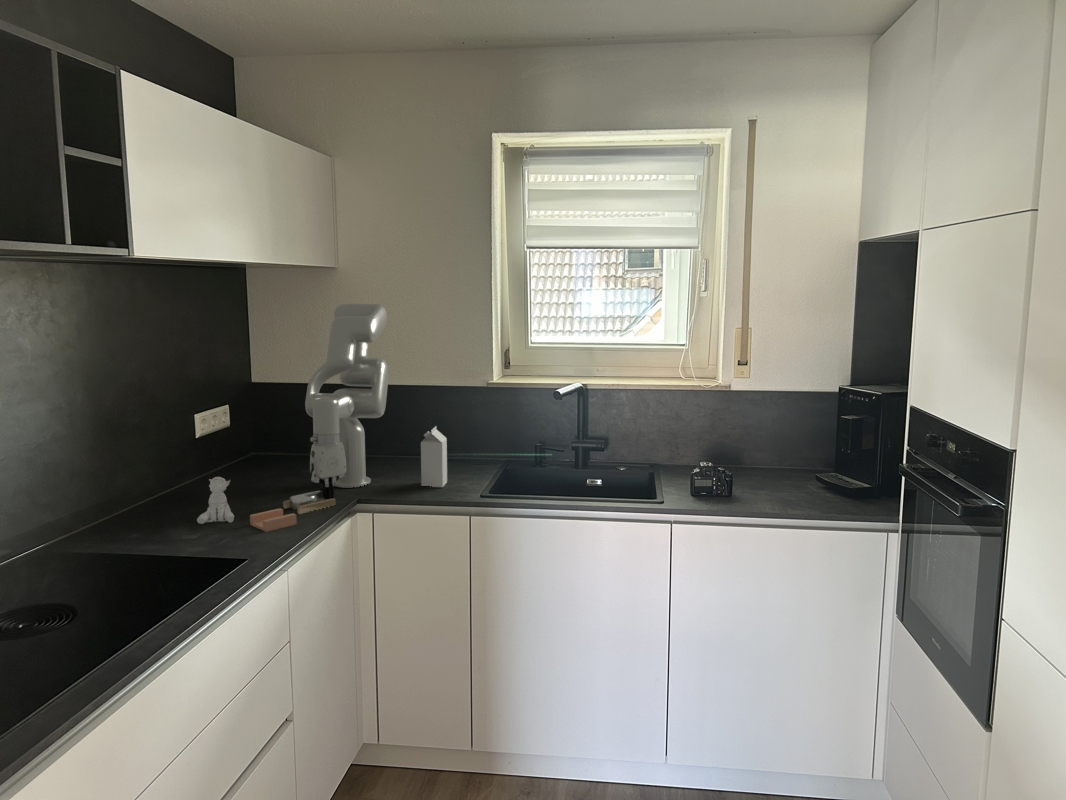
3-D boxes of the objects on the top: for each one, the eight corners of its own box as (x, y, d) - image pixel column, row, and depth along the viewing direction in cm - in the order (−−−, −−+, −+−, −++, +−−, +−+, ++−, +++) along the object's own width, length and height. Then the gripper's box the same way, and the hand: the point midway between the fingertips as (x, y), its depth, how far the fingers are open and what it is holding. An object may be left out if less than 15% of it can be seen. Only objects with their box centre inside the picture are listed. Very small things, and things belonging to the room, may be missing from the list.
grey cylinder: (298, 506, 223) (293, 494, 224) (292, 512, 225) (287, 500, 226) (325, 499, 229) (320, 488, 230) (319, 505, 232) (314, 494, 233)
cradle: (250, 525, 210) (249, 515, 209) (280, 517, 216) (280, 508, 216) (266, 531, 204) (265, 521, 204) (296, 524, 211) (296, 514, 210)
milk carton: (447, 482, 256) (446, 426, 254) (442, 487, 249) (442, 430, 247) (426, 481, 257) (425, 425, 254) (421, 487, 250) (420, 429, 247)
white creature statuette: (196, 524, 210) (194, 482, 208) (203, 515, 218) (200, 474, 217) (233, 522, 212) (231, 480, 210) (238, 513, 220) (236, 473, 219)
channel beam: (283, 507, 226) (282, 501, 226) (319, 499, 235) (318, 493, 234) (299, 514, 220) (299, 507, 220) (335, 505, 229) (335, 499, 228)
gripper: (311, 444, 221) (313, 506, 224) (355, 437, 232) (356, 496, 235) (297, 440, 226) (299, 501, 229) (340, 433, 237) (342, 491, 240)
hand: (328, 498), depth 232 cm, fingers closed
